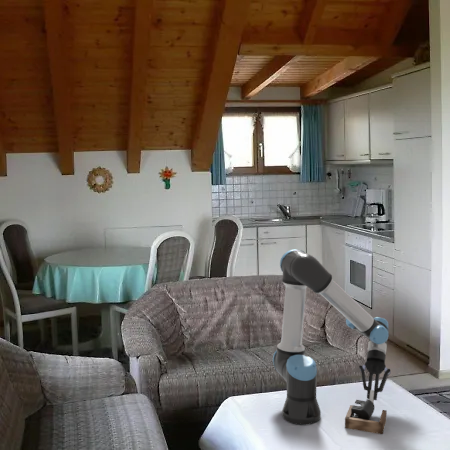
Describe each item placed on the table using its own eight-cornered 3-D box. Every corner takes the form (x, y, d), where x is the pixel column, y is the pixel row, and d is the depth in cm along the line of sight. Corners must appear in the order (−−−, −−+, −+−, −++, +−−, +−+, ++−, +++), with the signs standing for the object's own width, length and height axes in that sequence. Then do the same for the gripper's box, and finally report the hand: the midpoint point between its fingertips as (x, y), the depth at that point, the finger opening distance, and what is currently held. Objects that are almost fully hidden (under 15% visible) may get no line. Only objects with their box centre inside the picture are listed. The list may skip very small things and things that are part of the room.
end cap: (369, 427, 219) (369, 410, 219) (350, 423, 223) (350, 407, 222) (374, 416, 228) (374, 400, 227) (356, 413, 231) (357, 397, 231)
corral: (344, 428, 219) (345, 418, 219) (350, 414, 230) (350, 405, 230) (382, 434, 214) (382, 424, 214) (386, 420, 225) (386, 410, 225)
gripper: (393, 358, 243) (388, 413, 230) (361, 355, 248) (355, 408, 235) (392, 350, 238) (387, 406, 225) (360, 347, 242) (353, 401, 229)
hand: (370, 407), depth 230 cm, fingers closed
